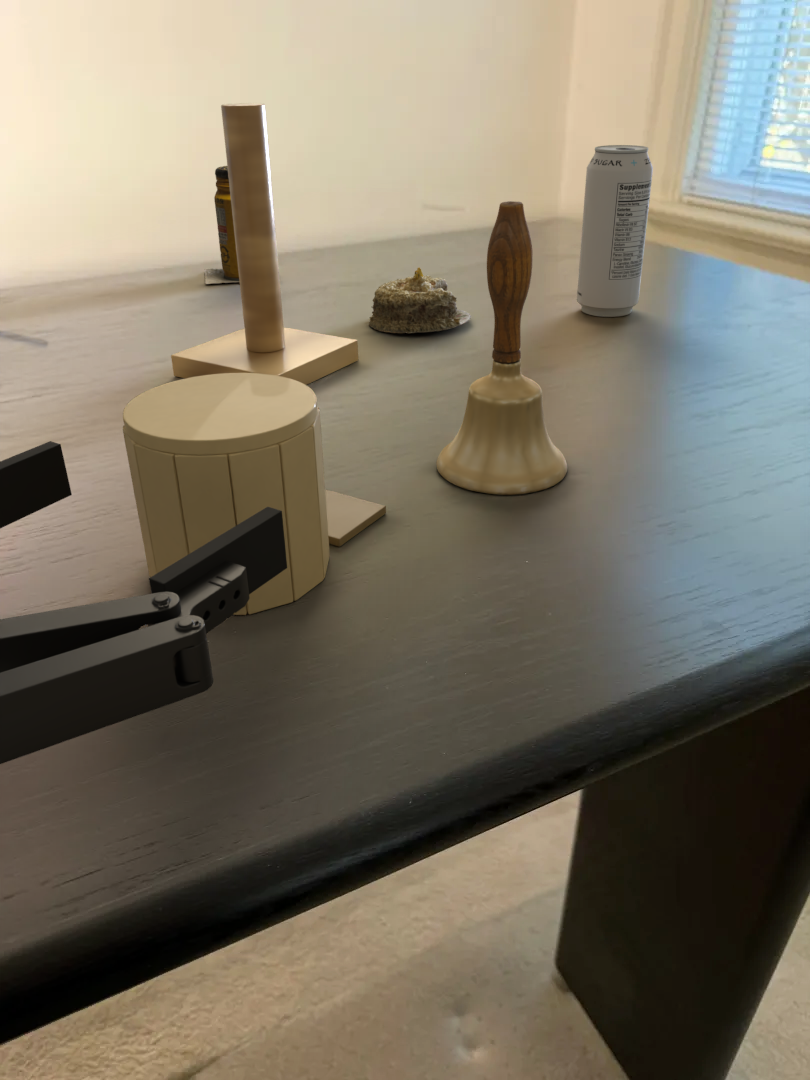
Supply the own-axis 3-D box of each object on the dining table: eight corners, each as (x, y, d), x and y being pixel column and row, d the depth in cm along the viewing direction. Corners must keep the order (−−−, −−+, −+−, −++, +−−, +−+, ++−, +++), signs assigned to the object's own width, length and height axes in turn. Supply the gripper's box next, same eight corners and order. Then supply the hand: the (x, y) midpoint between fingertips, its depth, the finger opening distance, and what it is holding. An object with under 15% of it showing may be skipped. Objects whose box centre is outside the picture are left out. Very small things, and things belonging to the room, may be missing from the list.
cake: (379, 347, 81) (372, 288, 79) (361, 320, 90) (354, 266, 87) (484, 330, 82) (480, 271, 80) (456, 305, 91) (452, 251, 88)
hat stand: (173, 376, 73) (133, 107, 64) (260, 342, 81) (236, 99, 72) (276, 399, 68) (250, 110, 58) (358, 360, 76) (347, 101, 66)
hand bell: (582, 492, 53) (607, 212, 45) (444, 498, 53) (446, 216, 45) (551, 438, 60) (568, 189, 53) (429, 444, 60) (429, 193, 52)
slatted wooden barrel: (115, 582, 45) (80, 416, 41) (282, 484, 55) (269, 341, 50) (250, 636, 41) (227, 456, 36) (405, 518, 51) (402, 366, 46)
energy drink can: (606, 299, 93) (621, 143, 85) (650, 311, 88) (669, 147, 81) (563, 308, 90) (574, 147, 82) (605, 321, 85) (621, 152, 78)
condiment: (280, 280, 102) (270, 169, 97) (205, 285, 101) (191, 172, 95) (275, 267, 109) (265, 161, 103) (204, 271, 107) (191, 164, 101)
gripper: (-500, 740, 32) (6, 509, 48) (-110, 1127, 20) (394, 653, 36) (-620, 562, 29) (-30, 375, 44) (-229, 909, 17) (389, 486, 32)
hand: (161, 499), depth 40 cm, fingers open, 13 cm apart
